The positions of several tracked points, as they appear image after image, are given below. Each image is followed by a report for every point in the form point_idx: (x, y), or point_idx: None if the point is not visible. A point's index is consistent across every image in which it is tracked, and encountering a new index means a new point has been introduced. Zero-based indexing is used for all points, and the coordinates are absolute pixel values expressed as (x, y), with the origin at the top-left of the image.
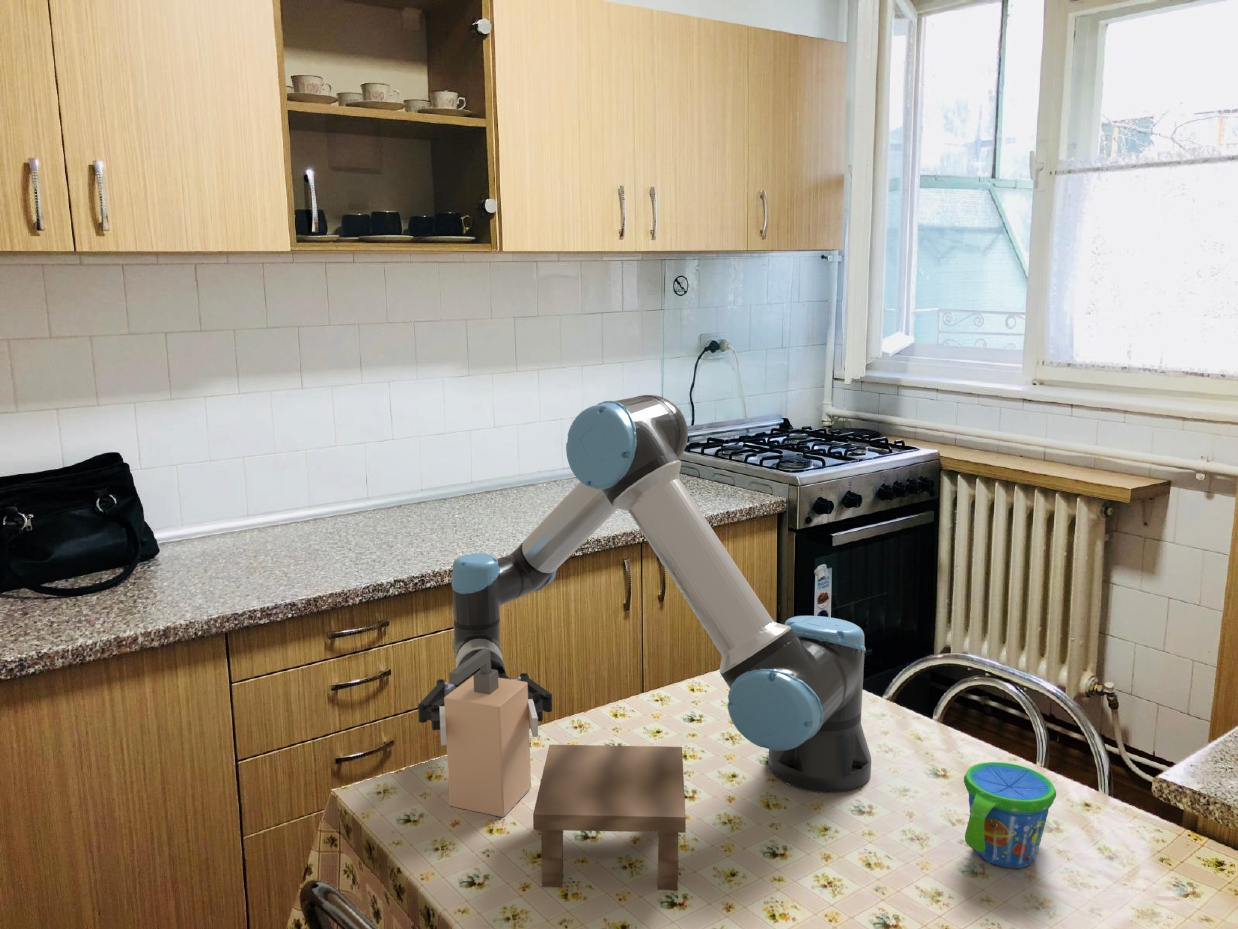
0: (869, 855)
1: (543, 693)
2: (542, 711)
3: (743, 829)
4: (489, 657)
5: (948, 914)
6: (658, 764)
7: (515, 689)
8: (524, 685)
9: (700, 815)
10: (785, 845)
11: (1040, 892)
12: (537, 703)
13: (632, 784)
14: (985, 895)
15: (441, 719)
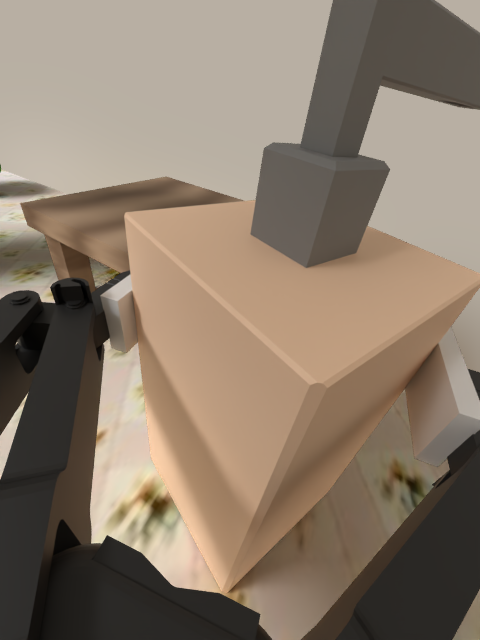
0: (18, 218)
1: (17, 312)
2: (126, 272)
3: (39, 262)
4: (331, 45)
5: (63, 194)
6: (95, 201)
7: (203, 209)
8: (153, 210)
9: (38, 288)
10: (44, 241)
11: (3, 183)
12: (93, 301)
13: (160, 199)
14: (27, 191)
15: (448, 330)
